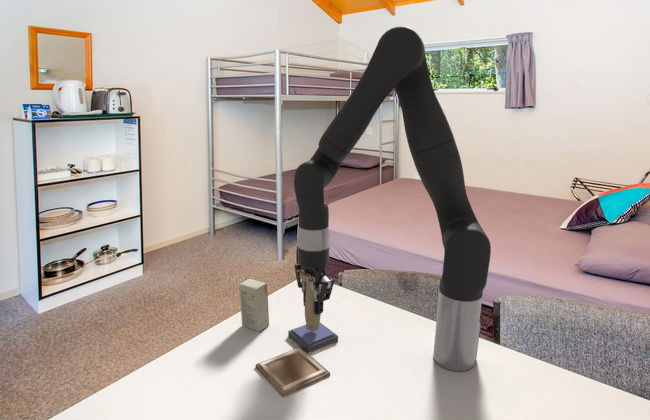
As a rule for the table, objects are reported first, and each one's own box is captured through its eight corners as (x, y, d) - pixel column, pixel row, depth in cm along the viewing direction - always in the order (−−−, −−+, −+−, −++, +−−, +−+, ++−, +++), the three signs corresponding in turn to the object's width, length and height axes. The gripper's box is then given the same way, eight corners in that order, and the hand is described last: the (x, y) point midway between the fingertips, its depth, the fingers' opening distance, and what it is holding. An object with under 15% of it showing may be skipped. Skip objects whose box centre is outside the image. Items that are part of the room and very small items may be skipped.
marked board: (300, 349, 103) (300, 345, 103) (330, 375, 94) (330, 371, 93) (255, 366, 96) (255, 362, 96) (282, 396, 87) (282, 392, 87)
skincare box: (269, 325, 113) (268, 283, 110) (258, 332, 110) (257, 289, 107) (251, 318, 117) (250, 277, 113) (240, 325, 113) (238, 283, 110)
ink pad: (317, 325, 114) (317, 318, 113) (338, 341, 106) (338, 334, 106) (288, 336, 108) (288, 329, 108) (308, 353, 101) (308, 345, 101)
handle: (322, 335, 104) (323, 278, 100) (297, 331, 105) (297, 275, 101) (327, 325, 108) (328, 270, 104) (302, 321, 109) (302, 267, 105)
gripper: (344, 249, 97) (342, 317, 102) (309, 233, 108) (309, 294, 113) (317, 256, 93) (317, 326, 98) (284, 238, 104) (285, 302, 109)
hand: (313, 309), depth 105 cm, fingers closed on handle, 4 cm apart
